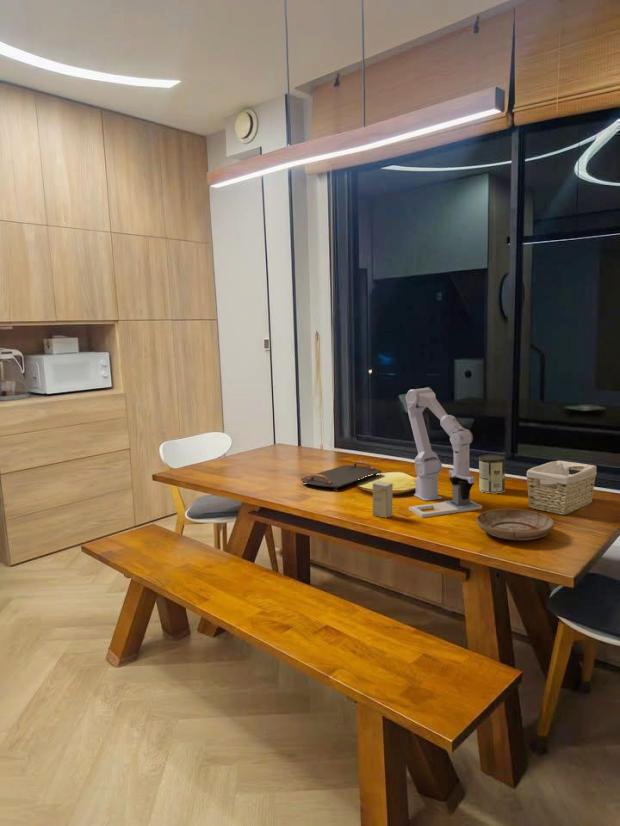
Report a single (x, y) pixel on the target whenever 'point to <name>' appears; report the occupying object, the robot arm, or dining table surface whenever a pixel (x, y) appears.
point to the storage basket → (560, 486)
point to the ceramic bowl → (515, 524)
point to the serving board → (341, 475)
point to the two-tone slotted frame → (443, 508)
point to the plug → (458, 496)
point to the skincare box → (382, 499)
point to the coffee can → (492, 474)
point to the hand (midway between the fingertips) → (461, 497)
